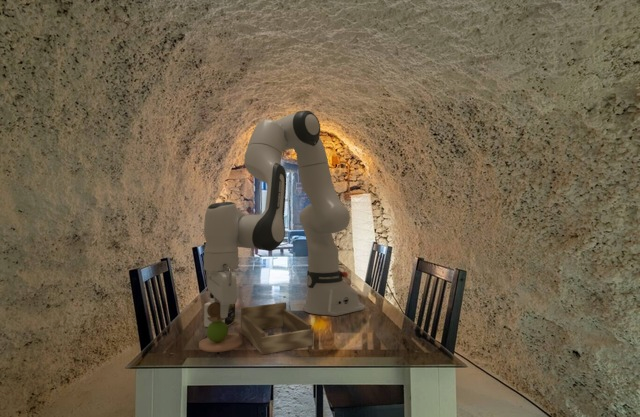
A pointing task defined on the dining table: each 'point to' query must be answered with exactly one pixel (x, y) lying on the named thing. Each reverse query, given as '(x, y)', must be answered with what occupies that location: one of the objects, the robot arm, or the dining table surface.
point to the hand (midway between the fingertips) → (221, 314)
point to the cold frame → (270, 318)
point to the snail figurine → (216, 323)
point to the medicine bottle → (227, 321)
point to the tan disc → (221, 344)
